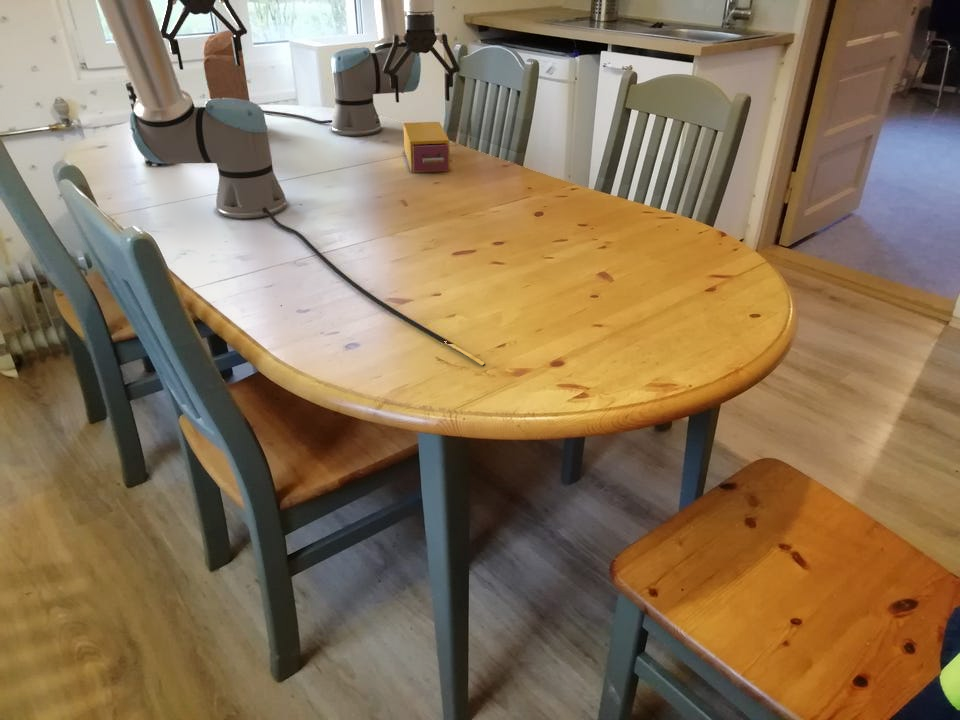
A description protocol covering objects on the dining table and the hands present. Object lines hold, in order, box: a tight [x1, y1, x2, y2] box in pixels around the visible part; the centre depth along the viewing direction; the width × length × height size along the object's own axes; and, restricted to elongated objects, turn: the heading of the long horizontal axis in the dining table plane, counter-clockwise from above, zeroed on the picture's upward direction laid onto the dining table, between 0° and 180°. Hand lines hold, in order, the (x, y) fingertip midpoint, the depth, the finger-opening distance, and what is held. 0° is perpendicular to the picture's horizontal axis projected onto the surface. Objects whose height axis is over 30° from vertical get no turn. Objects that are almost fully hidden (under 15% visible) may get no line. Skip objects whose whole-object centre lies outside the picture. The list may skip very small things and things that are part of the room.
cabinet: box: [402, 121, 451, 174], centre depth 188 cm, size 19×10×8 cm, turn 10°
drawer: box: [413, 144, 448, 171], centre depth 183 cm, size 23×9×6 cm, turn 11°
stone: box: [202, 29, 251, 102], centre depth 205 cm, size 22×11×28 cm, turn 18°
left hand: (210, 67), depth 173 cm, fingers open, 13 cm apart
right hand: (422, 100), depth 186 cm, fingers open, 13 cm apart
